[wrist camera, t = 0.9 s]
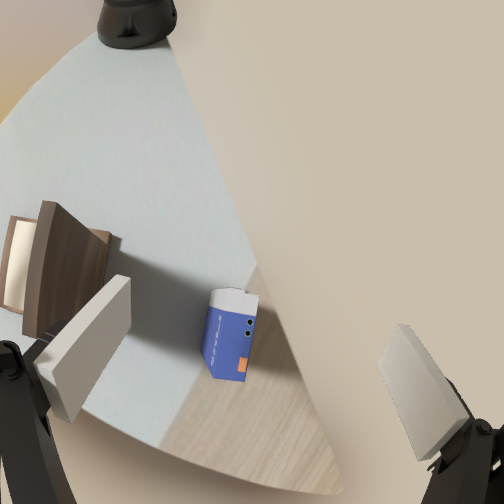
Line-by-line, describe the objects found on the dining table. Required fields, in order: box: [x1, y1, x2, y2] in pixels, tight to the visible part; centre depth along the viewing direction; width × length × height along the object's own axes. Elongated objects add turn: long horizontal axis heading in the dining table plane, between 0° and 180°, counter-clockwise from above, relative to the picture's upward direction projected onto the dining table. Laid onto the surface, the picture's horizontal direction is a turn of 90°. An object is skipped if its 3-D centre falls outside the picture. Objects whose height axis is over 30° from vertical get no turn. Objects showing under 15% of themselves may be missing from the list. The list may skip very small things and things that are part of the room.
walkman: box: [201, 287, 260, 382], centre depth 29 cm, size 8×3×12 cm, turn 169°
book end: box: [0, 200, 112, 339], centre depth 21 cm, size 16×12×18 cm
